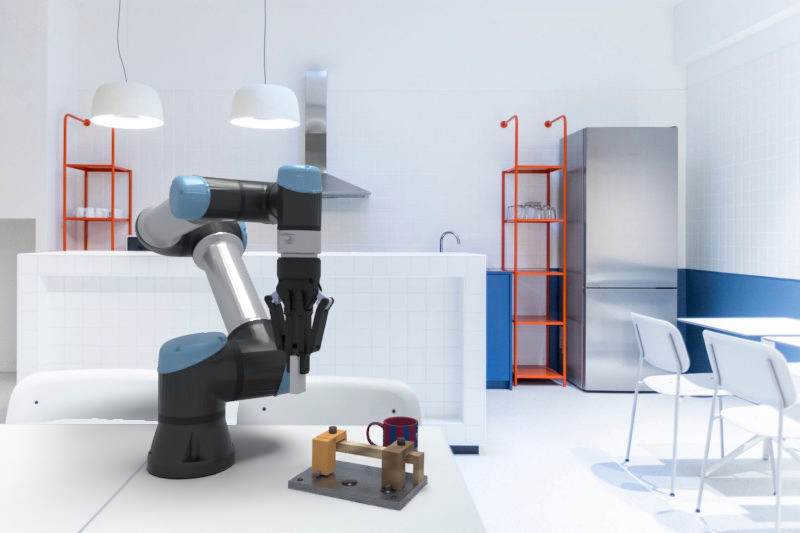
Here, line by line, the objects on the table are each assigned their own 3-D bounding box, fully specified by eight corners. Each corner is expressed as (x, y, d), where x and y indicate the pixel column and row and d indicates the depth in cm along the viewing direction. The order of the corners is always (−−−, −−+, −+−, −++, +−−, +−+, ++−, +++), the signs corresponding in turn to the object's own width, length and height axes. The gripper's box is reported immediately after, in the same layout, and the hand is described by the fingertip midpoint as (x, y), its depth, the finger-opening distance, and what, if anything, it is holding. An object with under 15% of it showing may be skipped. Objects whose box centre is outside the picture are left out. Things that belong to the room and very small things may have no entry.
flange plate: (288, 487, 100) (288, 480, 100) (324, 464, 111) (325, 457, 111) (399, 510, 92) (399, 501, 92) (427, 482, 103) (427, 475, 103)
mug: (412, 464, 112) (413, 427, 112) (361, 458, 115) (362, 422, 114) (421, 452, 118) (421, 418, 118) (372, 447, 121) (373, 413, 121)
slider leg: (308, 474, 102) (308, 434, 101) (331, 460, 109) (332, 422, 109) (323, 477, 100) (324, 437, 100) (346, 462, 108) (346, 424, 108)
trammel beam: (298, 474, 102) (298, 434, 102) (321, 460, 110) (321, 422, 109) (407, 495, 95) (408, 451, 94) (424, 478, 102) (425, 437, 101)
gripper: (254, 255, 103) (253, 393, 104) (320, 256, 98) (319, 401, 99) (279, 255, 110) (278, 384, 111) (342, 256, 105) (341, 391, 105)
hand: (297, 392), depth 105 cm, fingers closed
